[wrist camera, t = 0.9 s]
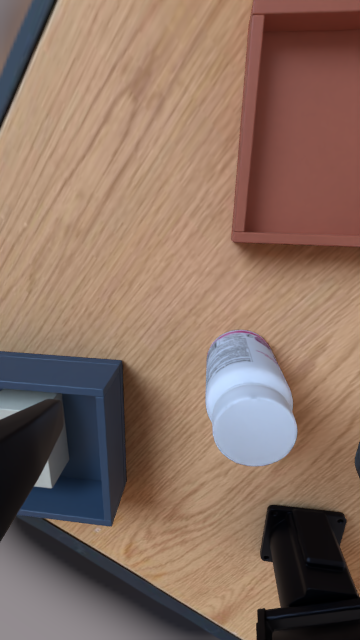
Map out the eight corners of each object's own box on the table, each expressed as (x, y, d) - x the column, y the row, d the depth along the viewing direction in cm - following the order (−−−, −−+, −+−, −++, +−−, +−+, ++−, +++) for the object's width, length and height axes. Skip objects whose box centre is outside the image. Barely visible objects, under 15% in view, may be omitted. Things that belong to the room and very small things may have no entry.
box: (126, 480, 27) (111, 526, 23) (-19, 464, 28) (-58, 505, 24) (122, 360, 23) (103, 389, 19) (-47, 347, 24) (-98, 372, 20)
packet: (69, 459, 26) (52, 488, 23) (19, 454, 26) (-4, 482, 23) (61, 389, 24) (41, 412, 21) (7, 384, 24) (-20, 406, 21)
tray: (378, 245, 19) (397, 248, 17) (231, 240, 19) (233, 242, 18) (432, 19, 15) (463, -9, 13) (248, 24, 16) (253, -2, 14)
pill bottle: (283, 370, 22) (323, 454, 14) (225, 395, 23) (232, 486, 15) (254, 316, 21) (280, 374, 13) (195, 345, 22) (186, 415, 14)
